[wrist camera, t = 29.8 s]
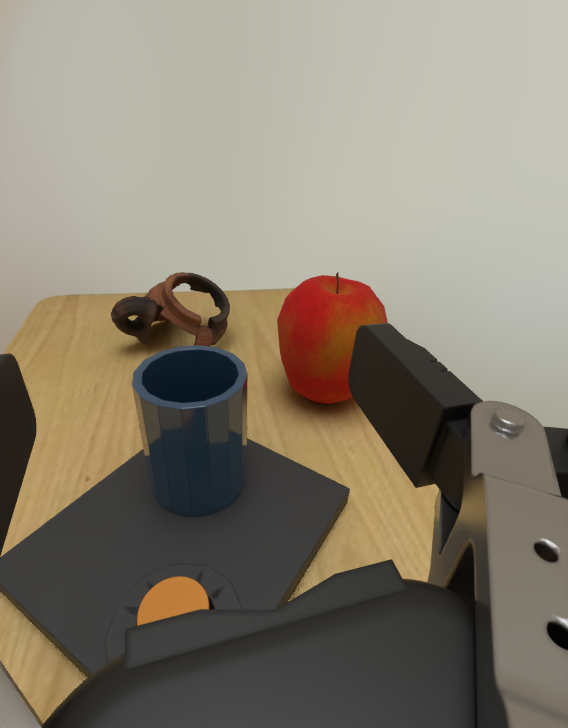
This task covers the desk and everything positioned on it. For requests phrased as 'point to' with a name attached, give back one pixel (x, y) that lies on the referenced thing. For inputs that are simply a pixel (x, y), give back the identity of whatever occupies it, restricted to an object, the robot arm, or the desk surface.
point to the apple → (324, 334)
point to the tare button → (172, 599)
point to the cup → (193, 427)
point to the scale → (166, 552)
